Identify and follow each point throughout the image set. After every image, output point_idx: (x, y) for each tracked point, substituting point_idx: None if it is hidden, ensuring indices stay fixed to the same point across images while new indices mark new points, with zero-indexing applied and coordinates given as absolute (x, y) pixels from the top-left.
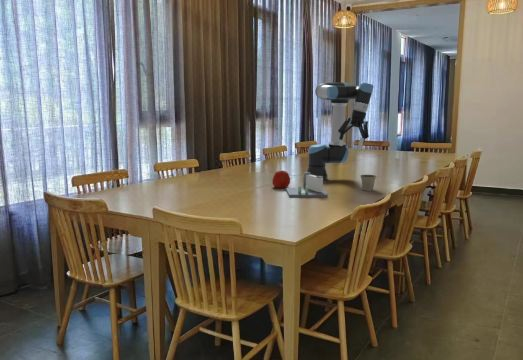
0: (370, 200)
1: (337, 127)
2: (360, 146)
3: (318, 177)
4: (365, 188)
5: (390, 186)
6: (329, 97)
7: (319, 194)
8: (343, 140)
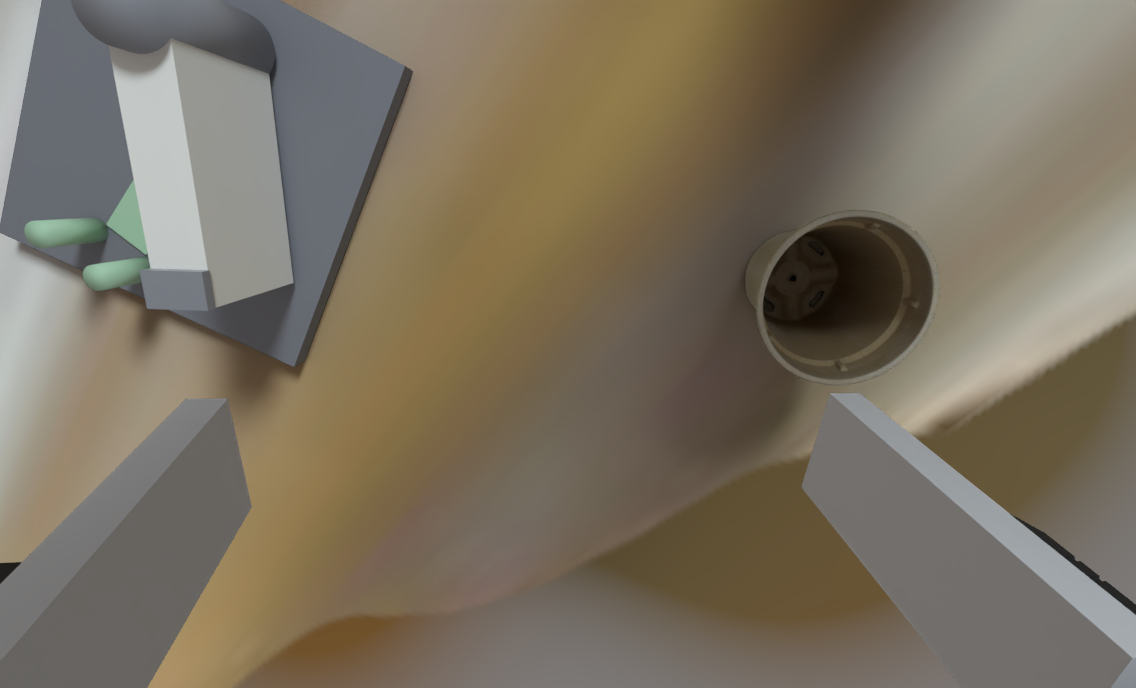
0: (520, 562)
1: None
2: (844, 516)
3: (153, 307)
4: (750, 298)
5: (1120, 233)
6: None
7: (235, 336)
8: (154, 647)
